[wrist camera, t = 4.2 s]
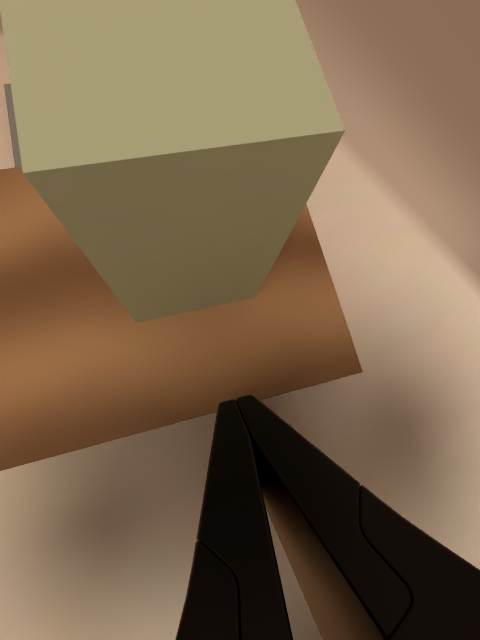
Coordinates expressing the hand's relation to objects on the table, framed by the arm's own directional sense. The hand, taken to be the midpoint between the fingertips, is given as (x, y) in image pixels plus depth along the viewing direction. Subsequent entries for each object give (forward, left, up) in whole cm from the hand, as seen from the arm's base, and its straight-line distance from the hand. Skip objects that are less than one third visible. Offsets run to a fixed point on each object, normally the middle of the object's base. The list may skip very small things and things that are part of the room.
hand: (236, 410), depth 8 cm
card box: (+7, +2, -5) cm, 9 cm away
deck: (+6, +2, -7) cm, 9 cm away
